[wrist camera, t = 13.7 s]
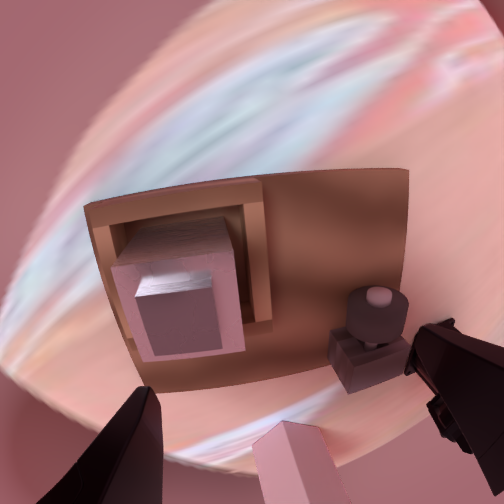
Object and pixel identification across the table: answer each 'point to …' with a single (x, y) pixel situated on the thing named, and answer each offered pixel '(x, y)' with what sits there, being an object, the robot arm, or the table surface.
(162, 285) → the block
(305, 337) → the frame
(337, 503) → the milk
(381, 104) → the table surface
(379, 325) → the wheel
